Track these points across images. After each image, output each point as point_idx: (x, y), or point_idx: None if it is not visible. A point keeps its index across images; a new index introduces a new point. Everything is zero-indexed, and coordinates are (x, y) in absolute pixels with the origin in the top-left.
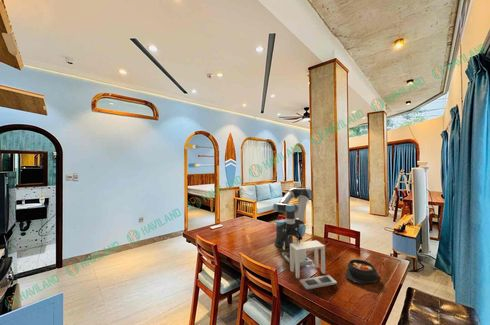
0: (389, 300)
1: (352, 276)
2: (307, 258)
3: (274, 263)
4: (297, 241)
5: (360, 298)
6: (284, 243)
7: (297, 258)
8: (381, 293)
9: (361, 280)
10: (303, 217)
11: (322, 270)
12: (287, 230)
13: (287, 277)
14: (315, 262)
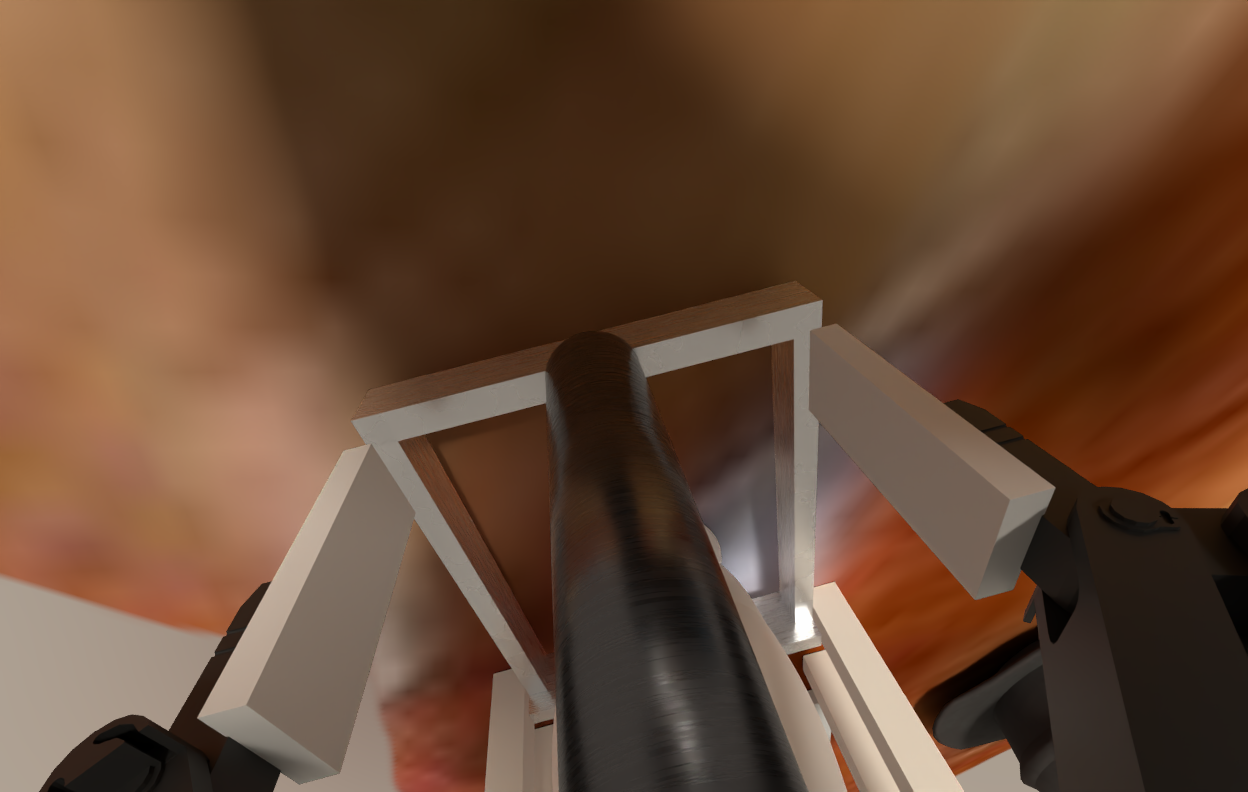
0: (971, 767)
1: (983, 712)
2: (798, 570)
3: (255, 587)
4: (935, 513)
5: (851, 783)
6: (342, 711)
7: None
8: (990, 743)
9: (994, 732)
10: None
11: (817, 697)
12: None
13: (449, 746)
14: (833, 656)
